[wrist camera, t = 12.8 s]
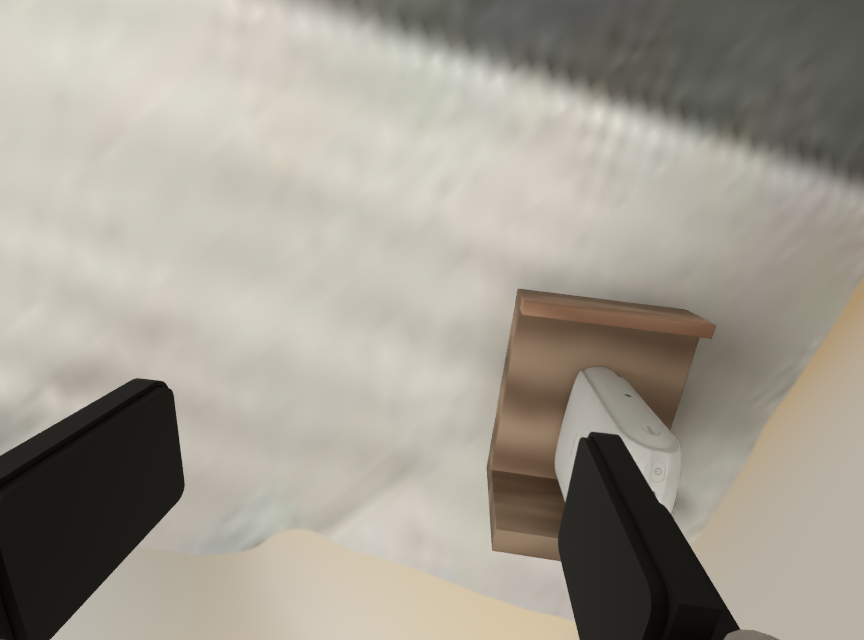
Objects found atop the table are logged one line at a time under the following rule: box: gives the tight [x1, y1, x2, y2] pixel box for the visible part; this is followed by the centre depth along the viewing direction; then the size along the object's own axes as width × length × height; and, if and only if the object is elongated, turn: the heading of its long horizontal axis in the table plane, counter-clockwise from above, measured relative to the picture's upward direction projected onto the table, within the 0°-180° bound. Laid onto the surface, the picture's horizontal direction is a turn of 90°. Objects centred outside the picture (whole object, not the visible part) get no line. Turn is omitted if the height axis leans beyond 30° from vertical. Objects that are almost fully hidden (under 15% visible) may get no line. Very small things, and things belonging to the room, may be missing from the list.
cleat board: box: [487, 289, 716, 561], centre depth 33 cm, size 18×14×10 cm
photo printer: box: [555, 367, 681, 514], centre depth 30 cm, size 10×4×12 cm, turn 172°
